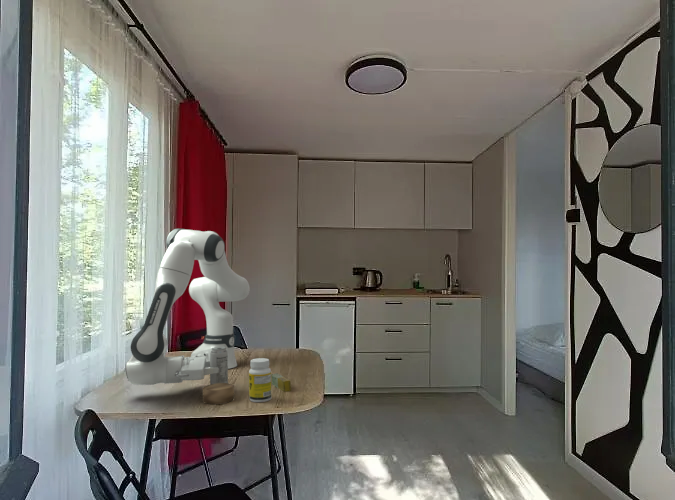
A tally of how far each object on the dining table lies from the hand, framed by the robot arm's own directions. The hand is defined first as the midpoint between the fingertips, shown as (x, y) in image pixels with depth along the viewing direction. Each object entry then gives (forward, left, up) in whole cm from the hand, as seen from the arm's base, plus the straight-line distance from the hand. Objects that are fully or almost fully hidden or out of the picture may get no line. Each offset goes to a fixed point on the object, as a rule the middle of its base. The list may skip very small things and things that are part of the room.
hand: (218, 366), depth 165 cm
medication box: (+19, +10, -9) cm, 23 cm away
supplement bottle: (+19, -5, -9) cm, 21 cm away
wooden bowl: (+6, -9, -8) cm, 14 cm away
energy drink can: (0, 0, -9) cm, 9 cm away
